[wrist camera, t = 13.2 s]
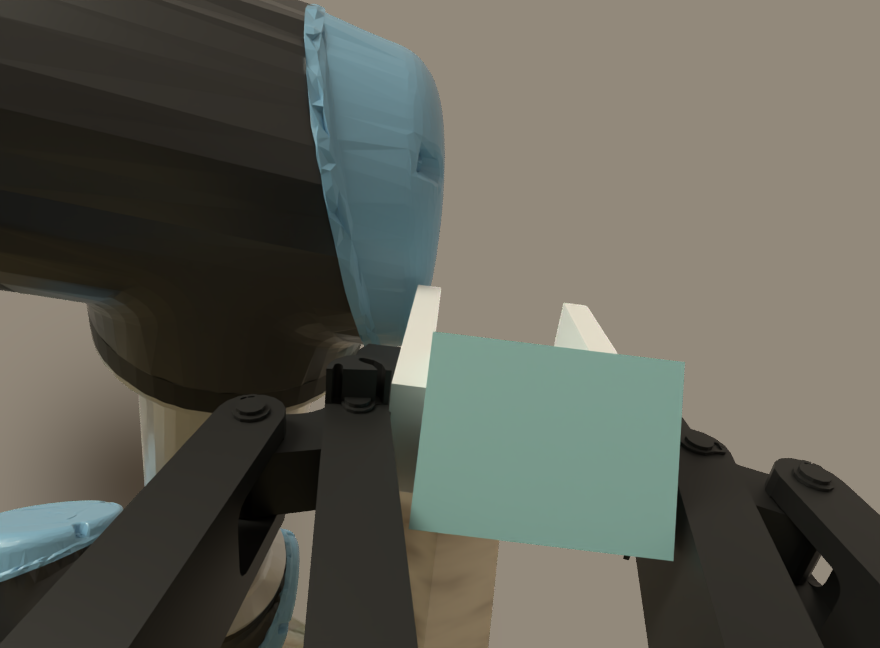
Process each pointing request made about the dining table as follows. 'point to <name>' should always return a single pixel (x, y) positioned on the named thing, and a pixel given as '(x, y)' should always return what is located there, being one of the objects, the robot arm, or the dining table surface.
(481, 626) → the stand
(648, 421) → the bar
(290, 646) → the dining table surface
